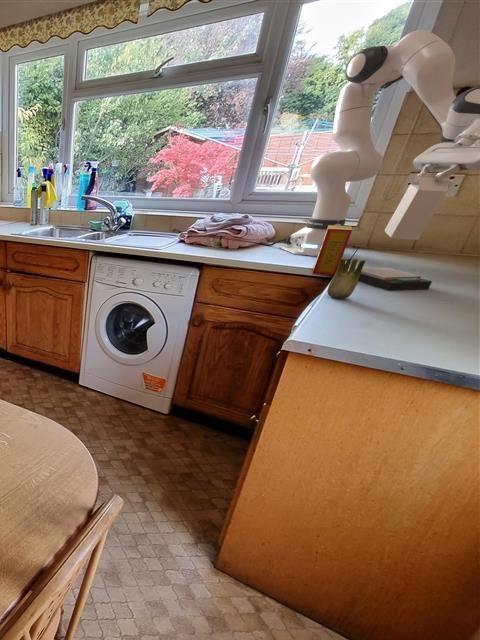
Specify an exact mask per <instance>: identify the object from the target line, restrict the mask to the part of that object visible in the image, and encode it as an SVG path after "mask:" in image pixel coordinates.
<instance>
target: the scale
mask: <svg viewBox="0 0 480 640" xmlns="http://www.w3.org/2000/svg"><path fill="white" fill-rule="evenodd" d="M355 270H356V268H355ZM354 272H355V271H354ZM358 282H360V283H363V284H366V285H370V286H373V287H375V288H379V289H382V290H385V291H411V290H412V291H413V290H429V289H430V287H431V285H432V282H433V281H432V280H428V279H425V278H422V277H421V275H418V274H414V273H410V272H407V271H403V270H398V269H396V268H391V267H366V268H365V267H363V268H362V270H361V273H360V276H359V279H358Z"/></svg>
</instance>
